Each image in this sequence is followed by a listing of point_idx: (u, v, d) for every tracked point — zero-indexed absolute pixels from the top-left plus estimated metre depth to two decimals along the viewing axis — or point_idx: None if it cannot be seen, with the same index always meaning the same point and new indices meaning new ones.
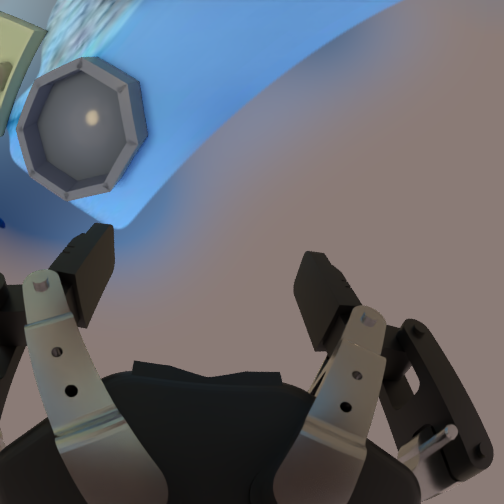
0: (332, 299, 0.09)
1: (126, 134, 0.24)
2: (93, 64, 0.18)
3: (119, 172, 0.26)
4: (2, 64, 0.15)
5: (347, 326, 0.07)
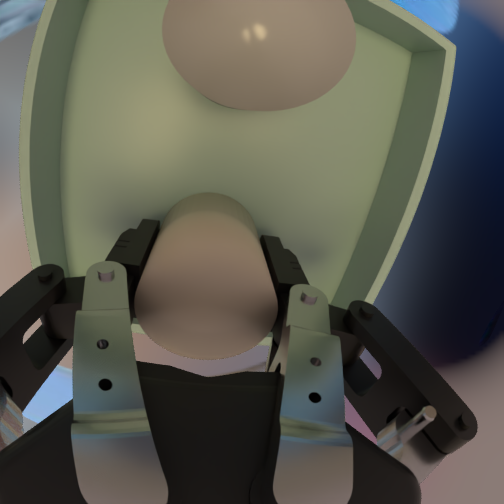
0: (275, 278, 0.09)
1: None
2: None
3: None
4: None
5: (289, 309, 0.07)
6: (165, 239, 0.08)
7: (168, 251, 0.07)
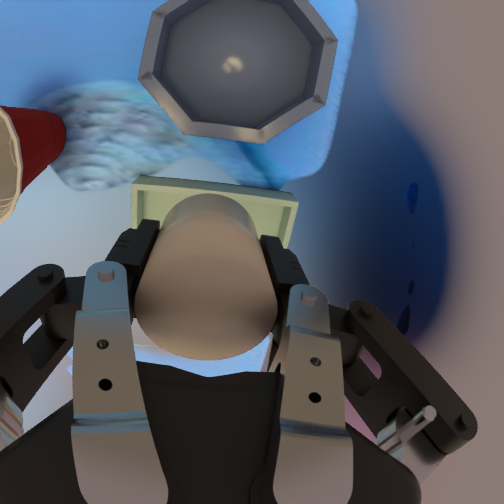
0: (275, 278, 0.09)
1: None
2: (142, 59, 0.17)
3: None
4: None
5: (289, 309, 0.07)
6: (165, 240, 0.08)
7: (168, 252, 0.07)
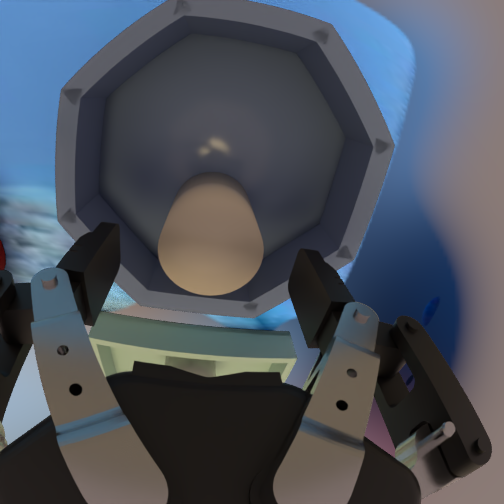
0: (324, 296, 0.09)
1: (164, 24, 0.08)
2: (57, 186, 0.10)
3: (271, 8, 0.08)
4: None
5: (339, 323, 0.07)
6: (182, 199, 0.11)
7: (186, 204, 0.10)
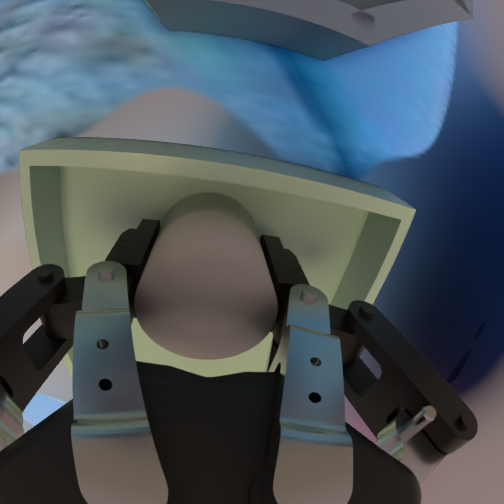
0: (275, 278, 0.09)
1: None
2: None
3: None
4: None
5: (289, 309, 0.07)
6: None
7: None
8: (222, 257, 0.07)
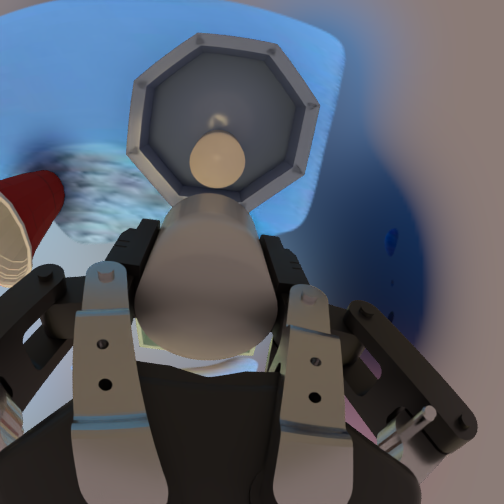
0: (274, 278, 0.09)
1: (191, 49, 0.17)
2: (128, 133, 0.20)
3: (244, 39, 0.17)
4: None
5: (289, 309, 0.07)
6: (203, 137, 0.21)
7: (205, 137, 0.20)
8: (222, 258, 0.07)
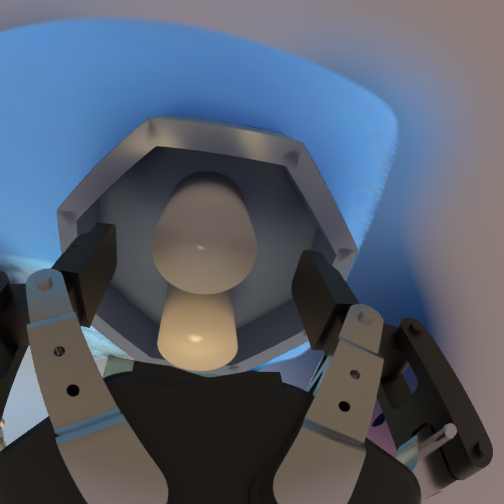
0: (329, 298, 0.09)
1: (139, 155, 0.10)
2: None
3: (240, 132, 0.11)
4: None
5: (344, 325, 0.07)
6: (175, 305, 0.14)
7: (177, 316, 0.13)
8: (215, 204, 0.10)
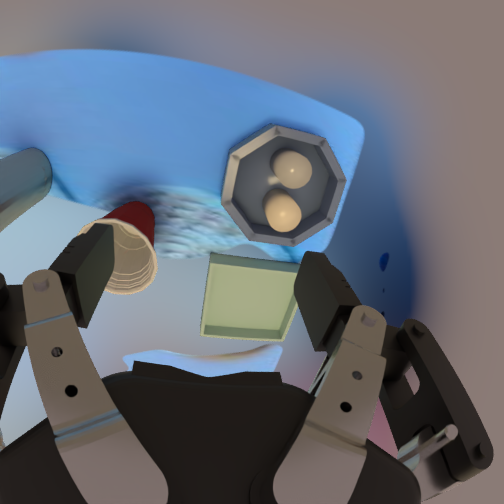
0: (332, 299, 0.09)
1: (271, 138, 0.31)
2: (224, 190, 0.34)
3: (305, 134, 0.32)
4: (273, 160, 0.34)
5: (347, 326, 0.07)
6: (275, 198, 0.35)
7: (279, 200, 0.34)
8: (300, 155, 0.31)
